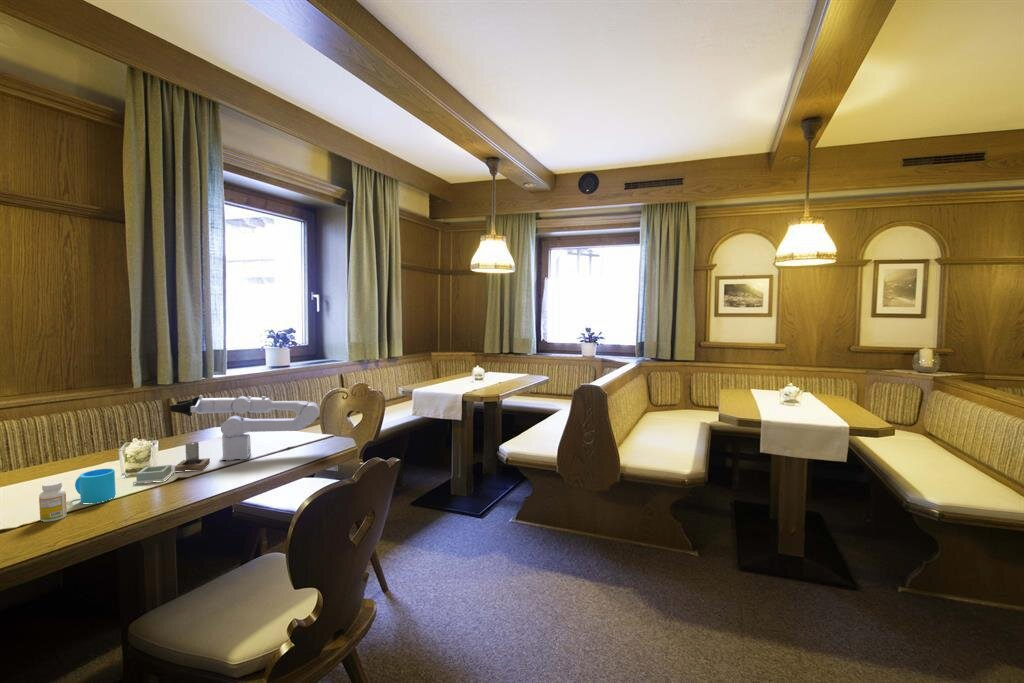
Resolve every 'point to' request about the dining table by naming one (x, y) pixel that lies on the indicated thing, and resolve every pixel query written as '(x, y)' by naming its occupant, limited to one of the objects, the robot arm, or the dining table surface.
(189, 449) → the peg
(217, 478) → the dining table surface
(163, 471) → the grey square tray
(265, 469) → the dining table surface
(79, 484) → the mug
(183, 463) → the socket
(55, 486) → the supplement bottle
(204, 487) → the dining table surface
